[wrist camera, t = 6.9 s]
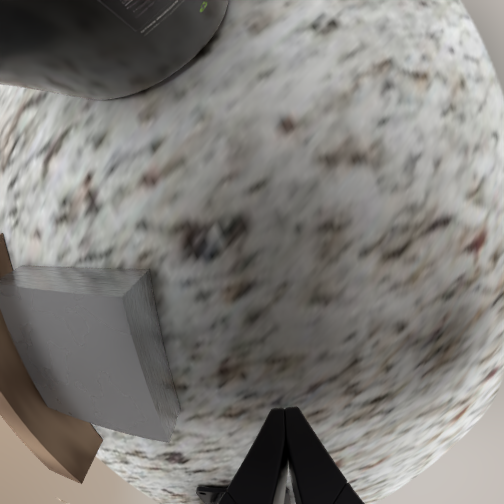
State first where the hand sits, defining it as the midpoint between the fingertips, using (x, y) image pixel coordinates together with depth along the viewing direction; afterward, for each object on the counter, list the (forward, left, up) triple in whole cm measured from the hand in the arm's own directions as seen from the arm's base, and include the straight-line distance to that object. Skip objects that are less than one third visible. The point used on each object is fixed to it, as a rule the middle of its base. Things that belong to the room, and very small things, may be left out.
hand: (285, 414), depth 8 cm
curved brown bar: (0, +13, -2) cm, 14 cm away
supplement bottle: (+13, +3, -3) cm, 14 cm away
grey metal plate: (+1, +8, -3) cm, 9 cm away
